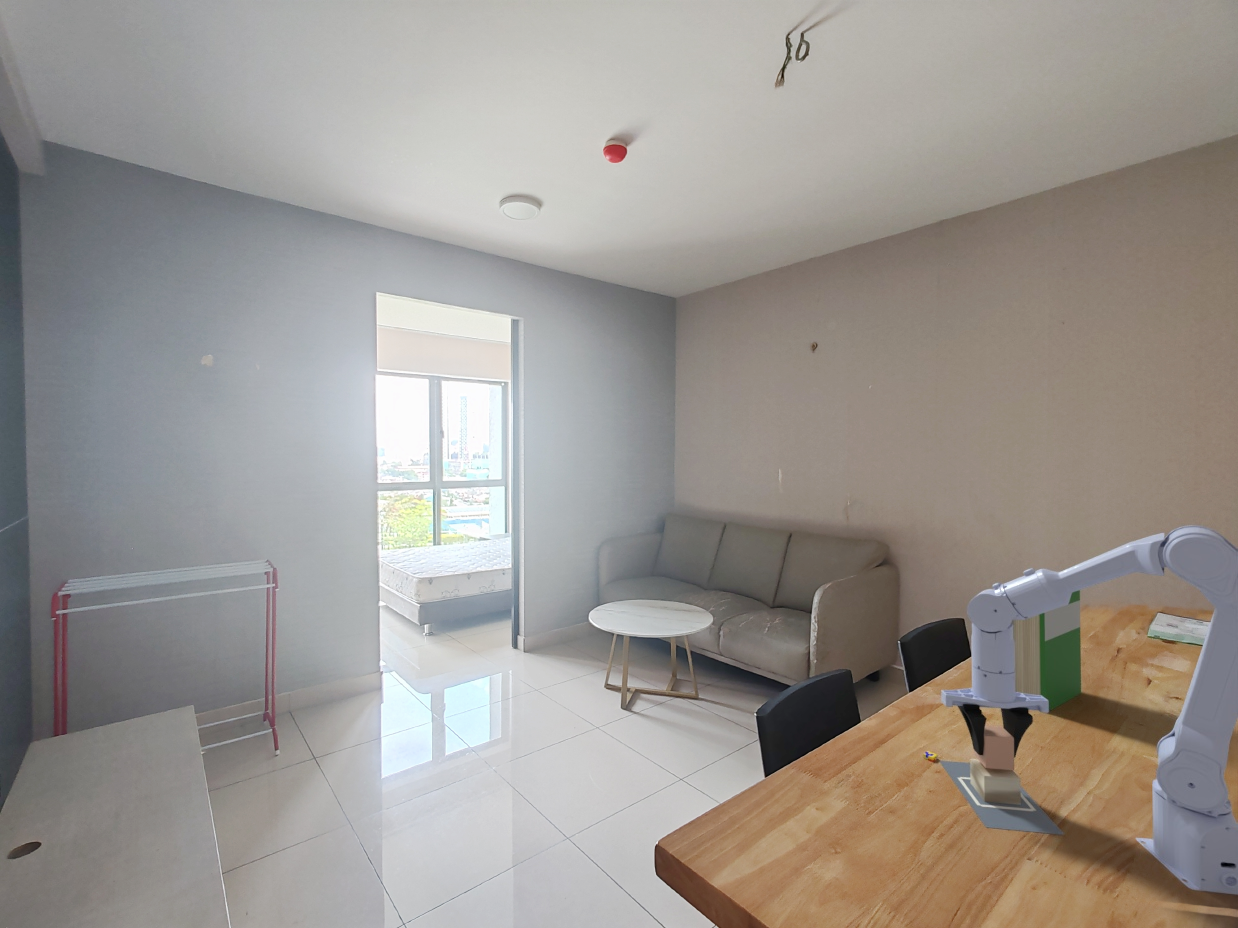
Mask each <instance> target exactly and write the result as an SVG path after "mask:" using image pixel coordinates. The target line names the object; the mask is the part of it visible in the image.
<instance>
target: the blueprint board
mask: <svg viewBox="0 0 1238 928" xmlns="http://www.w3.org/2000/svg"><path fill="white" fill-rule="evenodd" d="M938 762H939V763H940V765H941V766H942V767H943V769H944V770H945V772H946V773H947V775H948V776H949V777H950V778H951V780H952V781H953V784H955V786H956V787H957V788H958V790H959V791H960V793H961V794H962V796H963V797H964V799H965V800H966V801H967V803H968V804H969V805H970V806H969V807H971V808H972V810H973V812H974V813H975V814H976V815H977V817H978V818H979V820H980V821H981V823H982V824H983V825H984V827H985V828H988V829H998V830H1005V831H1006V830H1008V831H1016V832H1017V831H1018V832H1027V833H1029V832H1030V833H1040V834H1048V835H1058V836H1065V835H1066V834H1065V833H1064V832H1063V831H1062V830H1061V829H1060V828H1059V826H1058V825H1057V824H1056V823H1055V822H1054V821H1053V820H1052V819H1051V818H1050V817H1049V815H1048V814H1047V813H1046V812H1045V811H1044V810H1043V809H1042V808H1041V806H1040V805H1039V804H1038V803H1037V802H1036V801H1035V800H1034V799H1033V798H1032V797H1031V795H1030V794H1029V793H1028V792H1027V791H1026V790H1025V789H1024V788H1023V787H1022V786H1021V805H1018V804H1007V803H995V802H985V801H984V800H983V799H982V797H981V796H980V795H979V793H978V792H977V791H976V790H975V788H974V787H973V786H972V784H971V780H970V762H962V761H953V760H952V761H950V760H949V761H948V760H938Z"/></svg>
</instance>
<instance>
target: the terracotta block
mask: <svg viewBox="0 0 1238 928" xmlns="http://www.w3.org/2000/svg"><path fill="white" fill-rule="evenodd" d="M973 753H974V754H973V755H974V756H975V757H976V759H978V760H979V761H980V762H981V763H982V764H983V766H984V767H985V768H991V769H1004V770H1013V771H1015V758H1014V738H1013V737H1012V736H1011V735H1010V734H1009V733H1008V732H1007V731H1006V730H1005V729H1004V728H1003V725H997V724H985V729H984V752H983V755H978V754H977V752H976V751H975V750H974V749H973Z"/></svg>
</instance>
